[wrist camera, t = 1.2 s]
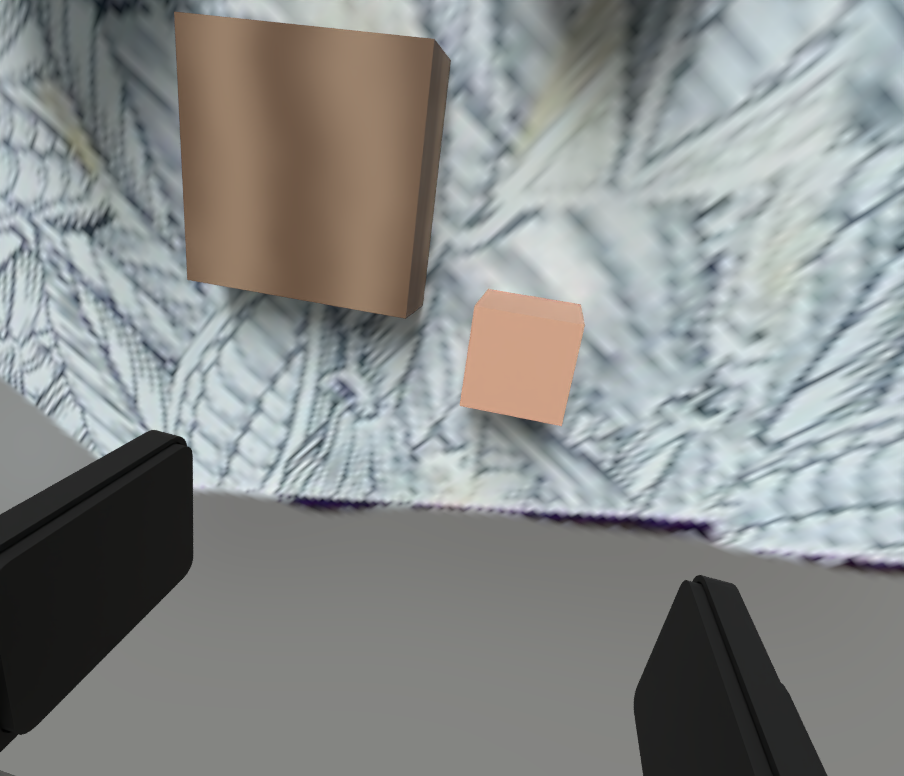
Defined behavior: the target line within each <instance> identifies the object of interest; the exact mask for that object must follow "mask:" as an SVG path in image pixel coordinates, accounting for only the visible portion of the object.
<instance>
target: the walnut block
mask: <svg viewBox="0 0 904 776" xmlns="http://www.w3.org/2000/svg"><path fill="white" fill-rule="evenodd" d="M174 18H175V39H176V59H177V79H178V99H179V119H180V139H181V159H182V179H183V200H184V220H185V240H186V260H187V280H192V281H198V282H203V283H209V284H214V285H220V286H226V287H231V288H237V289H242V290H248V291H254V292H259V293H265V294H271V295H276V296H282V297H287V298H293V299H299V300H304V301H310V302H315V303H321V304H327V305H332V306H338V307H344V308H349V309H355V310H360V311H366V312H372V313H377V314H383V315H388V316H394V317H400V318H405V319H406V318H407V317H408V316H410V315H411V314H412V313H414V312H415V311H416V310H417V309H419V308H420V307H421V306H423V300H424V291H425V282H426V273H427V265H428V256H429V247H430V238H431V229H432V220H433V212H434V203H435V194H436V185H437V176H438V168H439V159H440V150H441V141H442V132H443V123H444V115H445V106H446V97H447V88H448V79H449V70H450V62H451V60H450V59H449V57H448V56H447V55H446V54H445V52H444V51H443V50H442V48H441V47H440V46H439V44H438V43H437V42H436V41H435V39H429V38H419V37H410V36H400V35H391V34H381V33H372V32H362V31H353V30H343V29H334V28H324V27H315V26H305V25H296V24H286V23H277V22H267V21H258V20H249V19H239V18H230V17H220V16H211V15H201V14H192V13H182V12H174Z"/></svg>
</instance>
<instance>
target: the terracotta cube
mask: <svg viewBox="0 0 904 776" xmlns="http://www.w3.org/2000/svg"><path fill="white" fill-rule="evenodd" d="M584 326H585V324H584V319H583V314H582V309H581V304H575V303H569V302H563V301H557V300H551V299H545V298H539V297H533V296H527V295H521V294H515V293H509V292H503V291H497V290H491V289H488V290H487V291H486V292H485V294H484V295H483V296H482V297H481V299H480V300H479V301H478V302H477V304H476V305H475V307H474V313H473V320H472V327H471V333H470V340H469V347H468V353H467V360H466V367H465V373H464V380H463V387H462V393H461V400H460V406H463V407H468V408H473V409H478V410H483V411H488V412H493V413H498V414H503V415H508V416H514V417H519V418H524V419H529V420H534V421H539V422H544V423H549V424H554V425H559V426H562V422H563V417H564V413H565V409H566V404H567V400H568V396H569V391H570V387H571V383H572V378H573V374H574V370H575V365H576V361H577V356H578V352H579V348H580V343H581V339H582V335H583V330H584Z"/></svg>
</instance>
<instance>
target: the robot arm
mask: <svg viewBox="0 0 904 776" xmlns="http://www.w3.org/2000/svg"><path fill="white" fill-rule="evenodd" d="M192 561H193V454H192V450H191V448H189V447H188V446H187V443H186V441H185V439H183V438H182V437H180V436H176V435H172V434H168V433H165V432H161V431H157V430H151V431H148V432H146V433H144V434H142V435H141V436H139V437H137V438H135V439H134V440H132V441H130V442H128V443H126V444H125V445H123V446H121V447H119V448H118V449H116V450H114V451H112V452H111V453H109V454H107V455H105V456H103V457H102V458H100V459H98V460H96V461H95V462H93V463H91V464H89V465H88V466H86V467H84V468H82V469H80V470H79V471H77V472H75V473H73V474H72V475H70V476H68V477H66V478H64V479H63V480H61V481H59V482H57V483H56V484H54V485H52V486H50V487H48V488H47V489H45V490H43V491H41V492H40V493H38V494H36V495H34V496H33V497H31V498H29V499H27V500H25V501H24V502H22V503H20V504H18V505H17V506H15V507H13V508H11V509H9V510H8V511H6V512H4V513H2V514H1V515H0V752H1V751H2V750H3V749H4V748H5V747H6V746H7V745H8V744H9V743H10V742H11V741H12V740H13V739H14V738H15V737H16V736H17V735H18V734H20V735H22V734H26V733H27V732H29V731H31V730H32V729H33V728H34V727H36V726H37V725H38V724H39V723H40V722H41V721H42V720H43V719H44V718H45V717H46V716H47V715H48V714H49V713H50V712H51V711H52V710H53V709H54V708H55V707H56V706H57V705H58V704H59V703H60V702H61V701H62V700H63V699H64V698H65V697H66V696H67V695H68V693H70V692H71V691H72V690H73V689H74V688H75V687H76V685H77V684H79V682H81V680H82V679H83V678H84V677H86V676H87V675H88V673H90V672H91V671H92V670H93V669H94V667H95V666H96V665H97V664H98V663H99V662H100V661H101V660H102V659H103V658H104V657H105V656H106V655H107V654H108V653H109V652H110V651H111V650H112V649H113V648H114V647H115V646H116V645H117V644H118V643H119V642H120V641H121V640H122V639H123V638H124V637H125V636H126V635H127V634H128V633H129V632H130V631H131V630H132V629H133V628H134V627H135V626H136V625H137V624H138V623H139V622H140V621H141V620H142V619H143V618H144V617H145V616H146V615H147V614H148V613H149V612H150V611H151V610H152V609H153V608H154V607H155V606H156V605H157V604H158V603H159V602H160V601H161V600H162V599H163V598H164V597H165V596H166V595H167V594H168V593H169V592H170V591H171V590H172V589H173V588H174V587H175V586H176V585H177V584H178V583H179V582H180V581H181V580H182V579H183V578H184V577H185V575H186V574H187V573H188V571H189V569H190V567H191V565H192ZM634 715H635V722H636V729H637V735H638V743H639V750H640V756H641V763H642V770H643V776H827V774H826V772H825V770H824V767H823V765H822V763H821V761H820V759H819V757H818V755H817V753H816V750H815V748H814V746H813V744H812V742H811V740H810V738H809V735H808V733H807V731H806V729H805V727H804V725H803V722H802V721H801V718H800V716H799V714H798V712H797V709H796V707H795V705H794V703H793V701H792V699H791V697H790V694H789V693H788V691H787V690H786V688H785V686H784V685H783V684H782V683H781V682H780V680H779V678H778V676H777V674H776V671H775V669H774V667H773V665H772V663H771V660H770V658H769V656H768V654H767V652H766V649H765V647H764V645H763V643H762V641H761V639H760V637H759V634H758V632H757V630H756V628H755V625H754V623H753V621H752V619H751V617H750V615H749V613H748V610H747V608H746V606H745V604H744V602H743V599H742V597H741V595H740V593H739V591H738V589H737V587H736V586H735V585H734V584H732V583H728V582H724V581H721V580H717V579H713V578H709V577H706V576H702V575H698V576H696V577H695V578H694V579H693V581H692V582H691V581H687V580H685V581H684V582H682V584H681V586H680V588H679V590H678V593H677V595H676V597H675V599H674V602H673V604H672V606H671V609H670V611H669V614H668V616H667V618H666V620H665V623H664V625H663V627H662V630H661V632H660V635H659V637H658V639H657V641H656V644H655V646H654V648H653V651H652V653H651V655H650V658H649V660H648V662H647V665H646V667H645V669H644V672H643V674H642V676H641V679H640V681H639V683H638V686H637V688H636V691H635V697H634ZM0 776H14V775H11V774H9V773H6V772H3V771H0Z"/></svg>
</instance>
